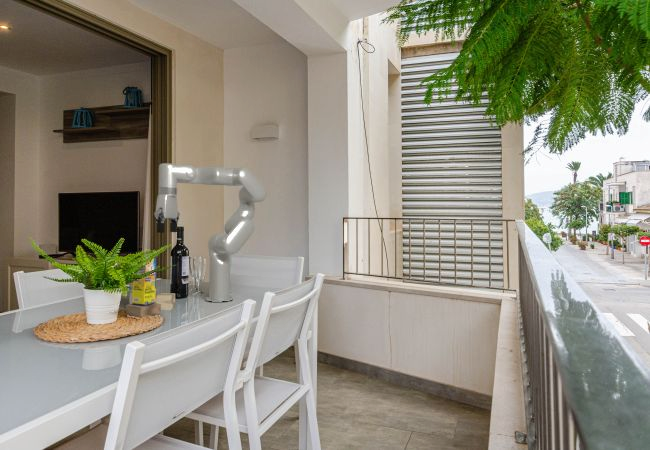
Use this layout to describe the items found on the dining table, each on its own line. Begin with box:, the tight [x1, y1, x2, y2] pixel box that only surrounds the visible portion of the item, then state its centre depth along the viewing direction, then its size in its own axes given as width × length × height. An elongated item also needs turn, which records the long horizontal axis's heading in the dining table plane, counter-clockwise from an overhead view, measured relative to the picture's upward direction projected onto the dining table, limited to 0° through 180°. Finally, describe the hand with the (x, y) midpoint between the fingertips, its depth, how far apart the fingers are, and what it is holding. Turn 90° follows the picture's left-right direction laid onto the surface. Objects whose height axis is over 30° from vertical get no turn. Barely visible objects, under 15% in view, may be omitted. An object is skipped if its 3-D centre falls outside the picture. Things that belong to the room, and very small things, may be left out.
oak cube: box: [156, 292, 176, 311], centre depth 187 cm, size 6×6×6 cm
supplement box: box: [132, 276, 155, 306], centre depth 171 cm, size 6×6×11 cm
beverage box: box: [128, 256, 157, 304], centre depth 189 cm, size 7×11×22 cm, turn 179°
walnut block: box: [125, 303, 162, 318], centre depth 171 cm, size 9×9×5 cm
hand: (167, 232), depth 189 cm, fingers open, 9 cm apart
